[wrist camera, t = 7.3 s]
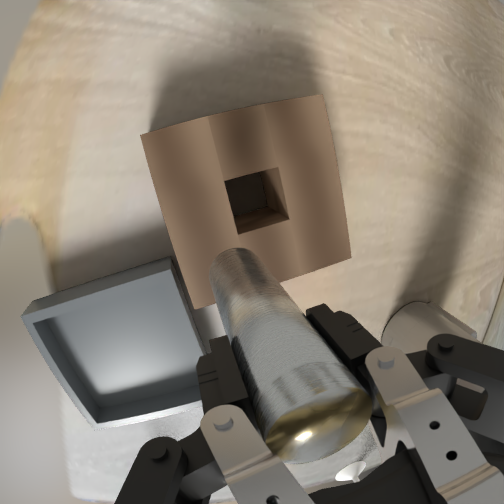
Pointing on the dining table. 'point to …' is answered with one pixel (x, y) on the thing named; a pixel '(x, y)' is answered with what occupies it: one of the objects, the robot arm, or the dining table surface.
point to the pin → (286, 364)
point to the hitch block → (274, 182)
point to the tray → (121, 345)
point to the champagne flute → (351, 472)
